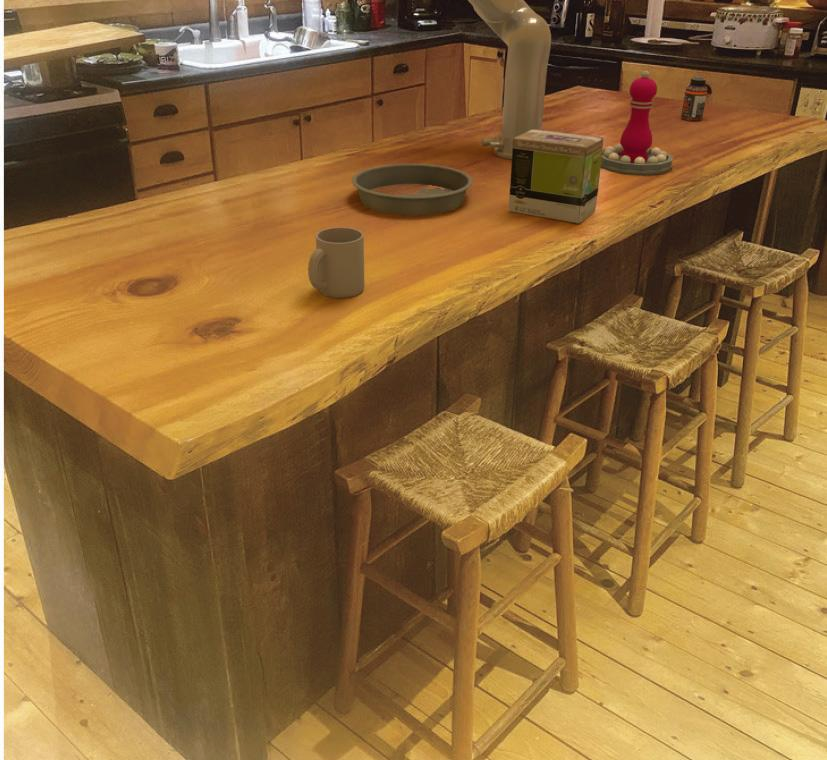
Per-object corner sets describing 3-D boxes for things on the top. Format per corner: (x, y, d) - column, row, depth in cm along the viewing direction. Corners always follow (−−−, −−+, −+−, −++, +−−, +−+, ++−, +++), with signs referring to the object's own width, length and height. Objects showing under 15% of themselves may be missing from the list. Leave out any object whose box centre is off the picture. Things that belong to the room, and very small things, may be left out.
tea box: (596, 211, 166) (605, 136, 158) (578, 225, 158) (587, 147, 151) (527, 199, 172) (533, 126, 165) (506, 212, 165) (511, 136, 157)
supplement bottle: (676, 117, 242) (683, 76, 236) (694, 116, 243) (701, 76, 238) (688, 122, 237) (695, 80, 231) (706, 121, 238) (713, 79, 233)
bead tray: (614, 177, 187) (616, 161, 185) (586, 157, 202) (587, 142, 200) (683, 173, 190) (686, 157, 188) (651, 154, 205) (653, 139, 203)
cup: (374, 289, 131) (373, 234, 126) (327, 308, 124) (324, 252, 120) (342, 277, 135) (340, 224, 131) (295, 295, 128) (291, 240, 124)
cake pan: (482, 188, 179) (483, 167, 177) (456, 224, 159) (457, 201, 156) (373, 178, 185) (373, 158, 183) (335, 212, 164) (334, 190, 162)
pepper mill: (647, 156, 198) (660, 68, 188) (651, 164, 192) (664, 73, 182) (616, 155, 199) (627, 67, 189) (619, 163, 193) (631, 72, 183)
